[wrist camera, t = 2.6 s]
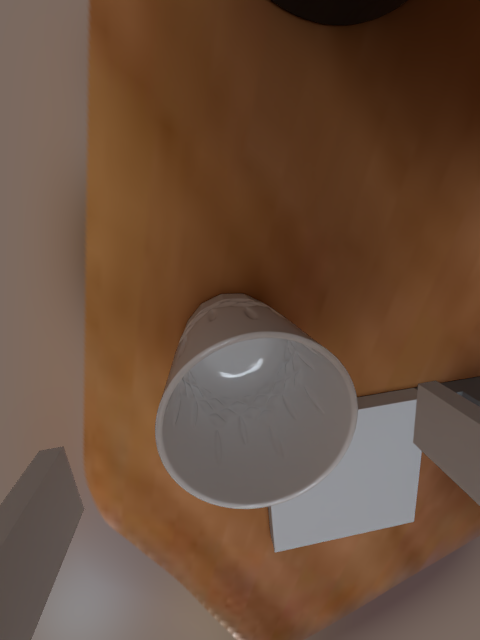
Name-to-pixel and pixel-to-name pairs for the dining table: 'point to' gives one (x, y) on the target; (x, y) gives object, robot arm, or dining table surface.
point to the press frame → (364, 475)
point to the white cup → (252, 407)
